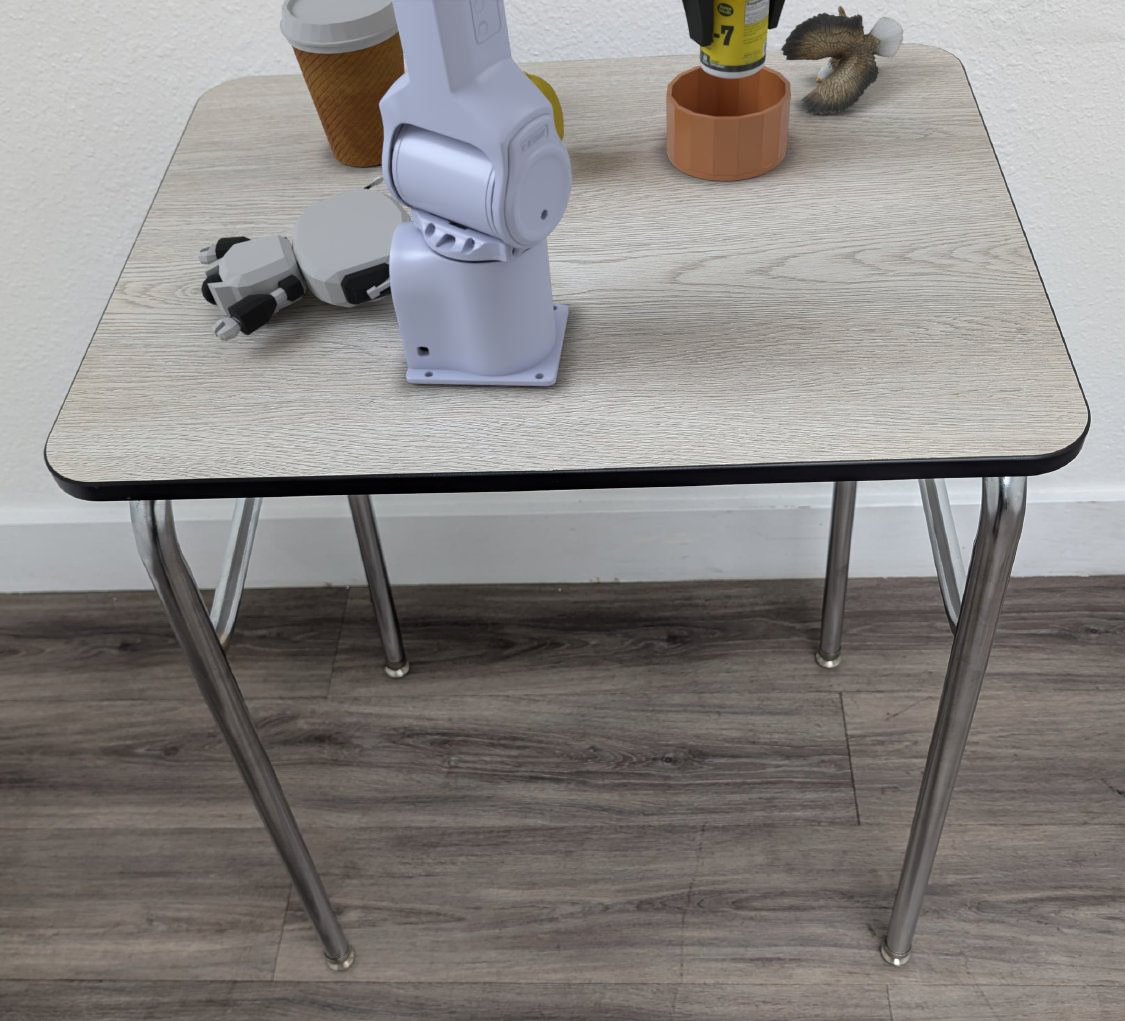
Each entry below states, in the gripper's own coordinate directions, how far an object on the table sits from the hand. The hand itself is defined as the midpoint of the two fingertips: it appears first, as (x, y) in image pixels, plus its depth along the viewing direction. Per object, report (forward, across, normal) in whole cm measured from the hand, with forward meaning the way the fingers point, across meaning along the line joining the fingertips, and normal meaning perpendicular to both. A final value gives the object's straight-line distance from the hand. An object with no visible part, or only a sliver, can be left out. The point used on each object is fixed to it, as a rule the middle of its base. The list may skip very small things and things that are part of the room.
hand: (732, 32), depth 79 cm
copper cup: (+10, 0, +1) cm, 10 cm away
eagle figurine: (+10, +13, +6) cm, 17 cm away
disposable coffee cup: (+10, -24, +16) cm, 31 cm away
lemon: (+10, -14, +6) cm, 18 cm away
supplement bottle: (+3, 0, 0) cm, 3 cm away
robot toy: (+10, -33, -2) cm, 35 cm away
